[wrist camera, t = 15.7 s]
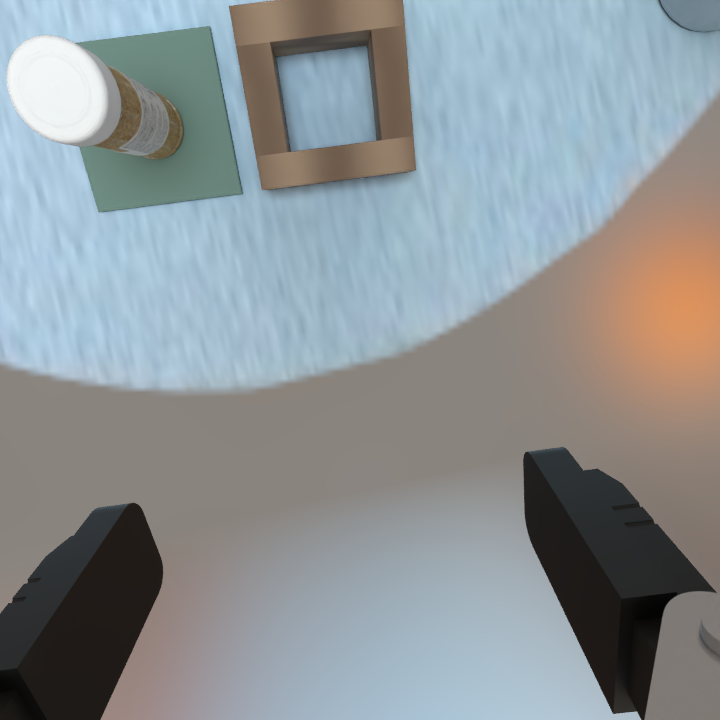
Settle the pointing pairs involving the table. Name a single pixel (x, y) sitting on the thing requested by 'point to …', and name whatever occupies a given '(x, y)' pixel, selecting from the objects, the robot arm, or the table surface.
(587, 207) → the table surface
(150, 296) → the table surface
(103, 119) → the sprinkles bottle
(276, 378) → the table surface
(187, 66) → the rubber mat
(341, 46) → the keeper collar
